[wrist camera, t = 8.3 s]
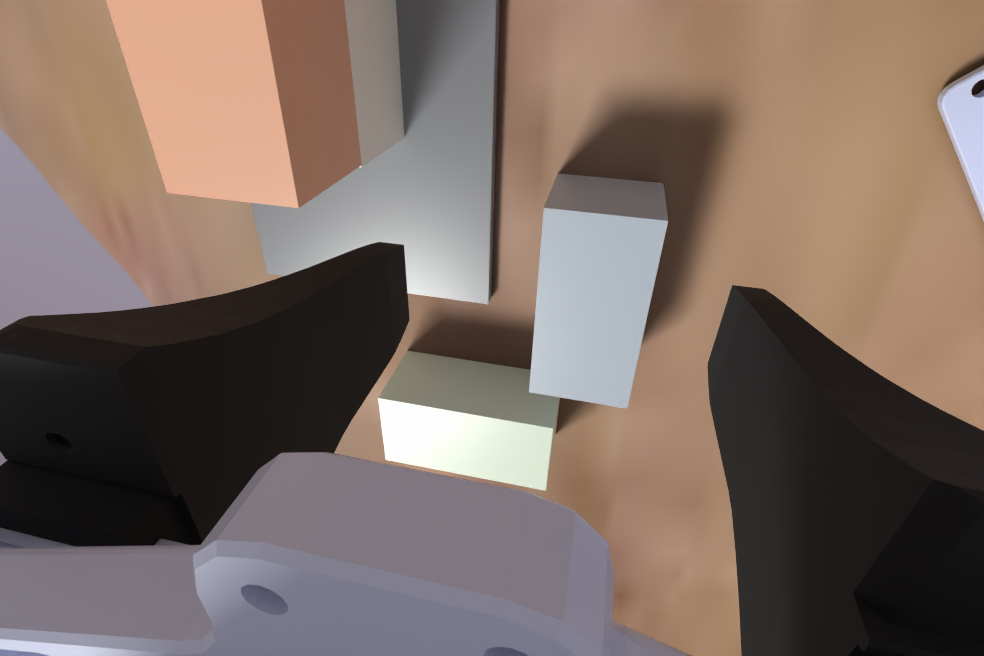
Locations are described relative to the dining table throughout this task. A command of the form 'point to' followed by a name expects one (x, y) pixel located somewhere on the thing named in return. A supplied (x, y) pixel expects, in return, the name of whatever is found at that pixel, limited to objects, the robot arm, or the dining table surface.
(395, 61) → the cream brick
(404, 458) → the sage brick
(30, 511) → the robot arm
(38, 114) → the dining table surface
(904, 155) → the dining table surface
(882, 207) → the dining table surface
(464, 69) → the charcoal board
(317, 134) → the terracotta brick
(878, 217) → the dining table surface
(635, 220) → the slate brick
